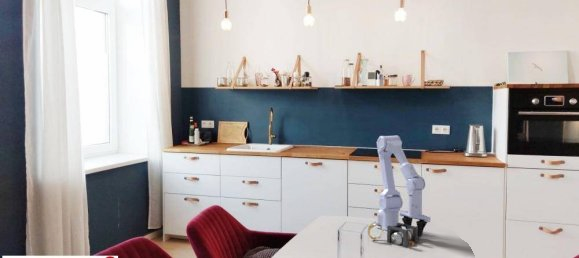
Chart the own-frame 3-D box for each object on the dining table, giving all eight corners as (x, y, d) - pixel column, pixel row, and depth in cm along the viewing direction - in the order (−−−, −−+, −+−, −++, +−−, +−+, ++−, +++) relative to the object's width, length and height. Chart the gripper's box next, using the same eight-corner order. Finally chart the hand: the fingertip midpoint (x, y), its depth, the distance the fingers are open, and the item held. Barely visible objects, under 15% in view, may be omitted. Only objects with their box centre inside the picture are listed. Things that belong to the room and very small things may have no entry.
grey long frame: (400, 246, 200) (401, 234, 199) (391, 243, 203) (391, 231, 203) (422, 238, 210) (422, 227, 210) (412, 235, 214) (413, 225, 214)
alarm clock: (368, 240, 206) (368, 222, 206) (366, 238, 210) (367, 220, 209) (384, 241, 207) (384, 222, 206) (382, 238, 210) (383, 220, 209)
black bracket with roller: (386, 242, 205) (387, 226, 205) (398, 238, 211) (399, 222, 210) (407, 247, 197) (407, 231, 197) (418, 243, 203) (419, 227, 203)
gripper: (434, 206, 206) (433, 236, 207) (406, 200, 217) (405, 229, 218) (425, 208, 202) (424, 240, 203) (397, 202, 213) (396, 232, 214)
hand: (414, 234), depth 210 cm, fingers closed on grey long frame, 5 cm apart
